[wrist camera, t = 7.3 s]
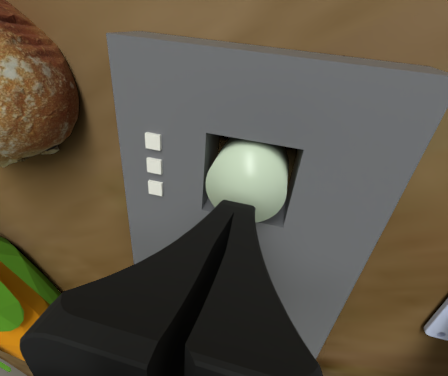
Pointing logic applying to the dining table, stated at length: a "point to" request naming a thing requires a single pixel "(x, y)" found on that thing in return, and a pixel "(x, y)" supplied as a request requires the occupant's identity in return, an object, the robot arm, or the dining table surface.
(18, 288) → the corn
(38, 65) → the bread roll
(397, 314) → the dining table surface
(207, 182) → the green button
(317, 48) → the dining table surface
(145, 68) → the button console
